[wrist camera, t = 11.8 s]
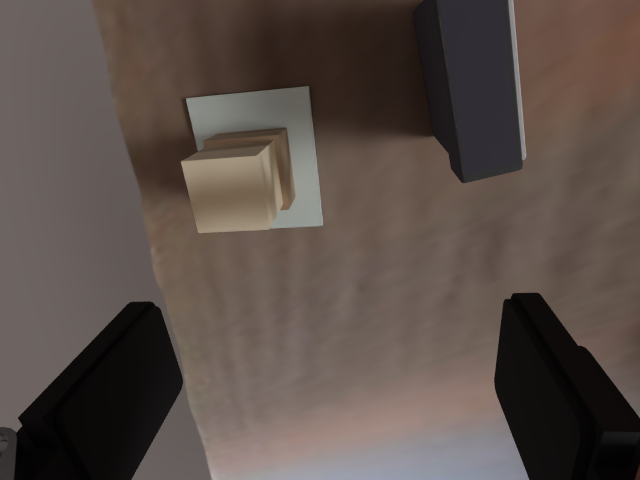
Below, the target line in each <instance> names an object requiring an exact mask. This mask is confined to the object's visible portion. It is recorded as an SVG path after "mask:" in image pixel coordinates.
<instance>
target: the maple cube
mask: <svg viewBox="0 0 640 480" xmlns="http://www.w3.org/2000/svg"><path fill="white" fill-rule="evenodd" d="M181 165H182V169H183V173H184V177H185V181H186V185H187V189H188V193H189V197H190V201H191V205H192V209H193V213H194V217H195V221H196V225H197V229H198V233H208V232H229V231H250V230H269V228H270V227H271V225H272V223H273V221H274V219H275V218H276V216H277V214H278V212H279V211H280V209H281V207H282V205H283V200H282V193H281V186H280V179H279V172H278V166H277V159H276V152H275V145H274V140H270V141H258V142H245V143H233V144H220V145H209V146H207V147H205V148H204V149H202V150H200V151H198V152H197V153H195V154H193V155H191V156H189V157H188V158H186V159H184V160H182V161H181Z"/></svg>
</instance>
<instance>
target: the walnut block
mask: <svg viewBox="0 0 640 480" xmlns="http://www.w3.org/2000/svg"><path fill="white" fill-rule="evenodd" d="M270 140H274V145H275V152H276V159H277V166H278V172H279V179H280V186H281V193H282V200H283V205H282V207H281V209H280V210H289V208H290V206H291V204H292V203H293V201H294V199H295V197H296V195H295V187H294V179H293V172H292V164H291V156H290V148H289V141H288V133H287V128H275V129H263V130H252V131H240V132H228V133H218V134H216V135H214V136H212V137H210V138H208V139H206V140H204V141H203V145H204V148H205V147H207V146H209V145H220V144H233V143H245V142H258V141H270Z"/></svg>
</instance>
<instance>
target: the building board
mask: <svg viewBox="0 0 640 480" xmlns="http://www.w3.org/2000/svg"><path fill="white" fill-rule="evenodd" d="M186 101H187V106H188V110H189V115H190V119H191V123H192V128H193V132H194V136H195V141H196V145H197V150H198V151H200V150H202V149H204V145H203V141H204V140H206V139H208V138H210V137H212V136H214V135H216V134H218V133H228V132H240V131H252V130H263V129H275V128H287V133H288V141H289V148H290V156H291V164H292V172H293V179H294V187H295V195H296V197H295V199H294V201H293V203H292V204H291V206H290V208H289V210H280V211H279V212H278V214H277V216H276V218H275V219H274V221H273V223H272V225H271V227H270V228H289V227H309V226H323V217H322V208H321V198H320V188H319V178H318V168H317V159H316V149H315V139H314V129H313V119H312V110H311V100H310V90H309V86H304V87H294V88H283V89H273V90H263V91H253V92H243V93H233V94H223V95H213V96H203V97H193V98H186Z"/></svg>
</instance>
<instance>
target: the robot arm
mask: <svg viewBox="0 0 640 480" xmlns="http://www.w3.org/2000/svg"><path fill="white" fill-rule="evenodd" d="M494 383H495V390H496V394H497V397H498V399H499V402H500V404H501V407H502V410H503V412H504V415H505V417H506V420H507V423H508V425H509V428H510V430H511V433H512V436H513V438H514V441H515V443H516V446H517V448H518V451H519V454H520V456H521V459H522V461H523V464H524V467H525V469H526V472H527V474H528V477H529V480H640V418H639V416H638V415H637V414H636V412H635V411H634V410H633V409H632V407H631V406H630V405H629V403H628V402H627V401H626V399H625V398H624V397H623V395H622V394H621V393H620V391H619V390H618V389H617V387H616V386H615V385H614V383H613V382H612V381H611V379H610V378H609V377H608V376H607V374H606V373H605V372H604V370H603V369H602V368H601V366H600V365H599V364H598V362H597V361H596V360H595V358H594V357H593V356H592V354H591V353H590V352H589V351H588V350H587V349H586V348H585V347H582V346H578V345H577V344H576V342H575V341H574V340H573V338H572V337H571V336H570V334H569V333H568V332H567V330H566V329H565V327H564V326H563V325H562V323H561V322H560V321H559V319H558V318H557V317H556V315H555V314H554V312H553V311H552V310H551V308H550V307H549V306H548V304H547V303H546V302H545V300H544V299H543V297H542V296H541V295H540V294H539V293H514V294H512V296H511V299H505V300H504V303H503V311H502V319H501V327H500V336H499V344H498V353H497V361H496V370H495V378H494ZM182 384H183V378H182V374H181V371H180V368H179V365H178V362H177V359H176V356H175V353H174V349H173V346H172V343H171V340H170V337H169V334H168V331H167V328H166V325H165V322H164V319H163V315H162V312H161V310H160V308H159V307H157V306H155V304H154V303H153V302H130V303H129V304H127V305H126V307H124V309H123V310H122V311H121V312H120V313H119V314H118V315H117V316H116V317H115V318H114V319H113V320H112V321H111V322H110V323H109V324H108V325H107V326H106V327H105V328H104V330H102V331H101V332H100V333H99V334H98V336H97V337H95V339H94V340H93V341H92V342H91V343H90V344H89V345H88V346H87V347H86V348H85V349H84V350H83V351H82V352H81V353H80V354H79V355H78V356H77V357H76V358H75V359H74V360H73V361H72V362H71V363H70V365H68V367H67V368H66V369H65V370H64V371H63V372H62V373H61V374H60V375H59V376H58V377H57V378H56V379H55V380H54V381H53V382H52V383H51V384H50V385H49V386H48V387H47V388H46V389H45V390H44V391H43V392H42V394H40V396H39V397H38V398H37V399H36V400H35V401H34V402H33V403H32V404H31V405H30V406H29V407H28V408H27V409H26V410H25V411H24V412H23V413H22V414H21V415H20V416H19V417H18V419H19V420H20V422H21V424H22V427H21V428H20V429H19V430H18V432H17V433H16V432H15V431H14V430H12V429H11V428H6V427H0V480H131V479H132V477H133V475H134V474H135V472H136V470H137V468H138V466H139V465H140V463H141V461H142V459H143V458H144V456H145V454H146V452H147V450H148V449H149V447H150V445H151V443H152V441H153V439H154V438H155V436H156V434H157V432H158V430H159V429H160V427H161V425H162V423H163V422H164V420H165V418H166V416H167V414H168V413H169V411H170V409H171V407H172V405H173V404H174V402H175V400H176V398H177V396H178V395H179V393H180V391H181V389H182Z"/></svg>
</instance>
